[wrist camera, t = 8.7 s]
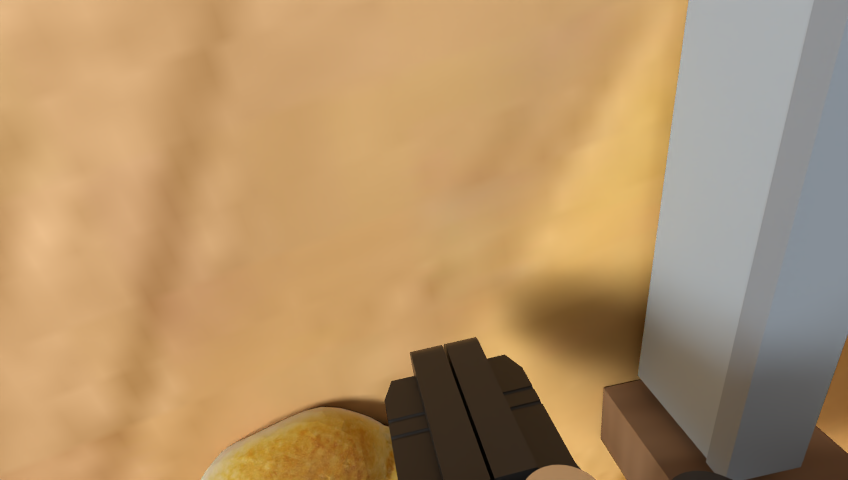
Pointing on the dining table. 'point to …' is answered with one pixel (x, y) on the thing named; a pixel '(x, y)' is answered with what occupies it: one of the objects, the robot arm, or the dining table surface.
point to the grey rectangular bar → (753, 232)
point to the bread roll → (311, 450)
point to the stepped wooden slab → (686, 442)
